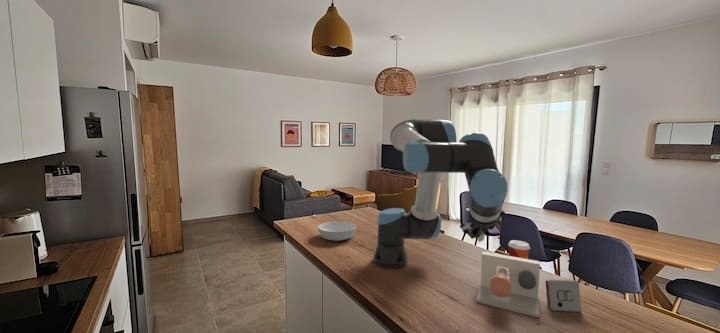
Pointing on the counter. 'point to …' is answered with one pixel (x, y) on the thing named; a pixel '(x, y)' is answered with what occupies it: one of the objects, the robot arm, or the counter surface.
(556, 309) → the electrical switch
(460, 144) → the robot arm
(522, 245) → the paper cup
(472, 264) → the counter surface
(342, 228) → the serving bowl
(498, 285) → the knob
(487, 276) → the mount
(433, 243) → the counter surface
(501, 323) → the counter surface
